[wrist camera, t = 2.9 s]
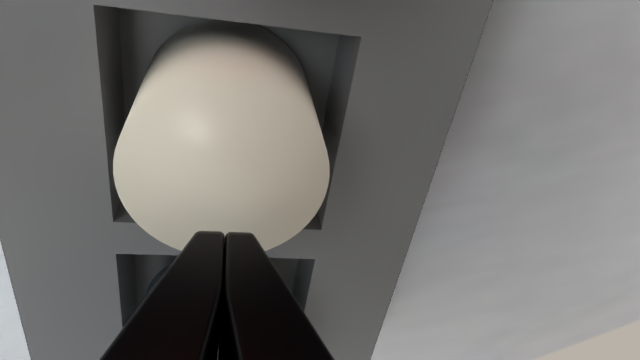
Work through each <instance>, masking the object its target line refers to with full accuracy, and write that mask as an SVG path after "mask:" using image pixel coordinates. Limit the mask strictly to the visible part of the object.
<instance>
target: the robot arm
mask: <svg viewBox="0 0 640 360" xmlns="http://www.w3.org/2000/svg"><path fill="white" fill-rule="evenodd" d="M99 360H335V359H334V358H333V356H332V355H331V353H330V351H329V350H328V348H327V347H326V345H325V344H324V342H323V341H322V339H321V338H320V336H319V334H318V333H317V331H316V330H315V328H314V327H313V325H312V324H311V322H310V320H309V319H308V317H307V316H306V314H305V313H304V311H303V310H302V308H301V307H300V305H299V303H298V302H297V300H296V299H295V297H294V296H293V294H292V293H291V291H290V289H289V288H288V286H287V285H286V283H285V282H284V280H283V279H282V277H281V276H280V274H279V272H278V271H277V269H276V268H275V266H274V265H273V263H272V262H271V260H270V259H269V257H268V255H267V254H266V252H265V251H264V249H263V248H262V246H261V245H260V243H259V241H258V240H257V238H256V237H255V236H254V234H252V233H250V232H228V233H226V235H224V233H223V232H221V231H197V232H196V233H195V234H194V235H193V236H192V238H191V239H190V240H189V242H188V243H187V244H186V246H185V247H184V248H183V250H182V251H181V252H180V253H179V255H178V256H177V257H176V259H175V260H174V261H173V263H172V264H171V265H170V267H169V268H168V269H167V271H166V272H165V273H164V275H163V276H162V277H161V278H160V280H159V281H158V282H157V284H156V285H155V286H154V288H153V289H152V290H151V292H150V293H149V294H148V296H147V297H146V298H145V300H144V301H143V302H142V303H141V305H140V306H139V307H138V309H137V310H136V311H135V313H134V314H133V315H132V317H131V318H130V319H129V321H128V322H127V323H126V324H125V326H124V327H123V328H122V330H121V331H120V332H119V334H118V335H117V336H116V338H115V339H114V340H113V342H112V343H111V344H110V346H109V347H108V348H107V349H106V351H105V352H104V353H103V355H102V356H101V357H100V359H99Z"/></svg>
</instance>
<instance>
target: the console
mask: <svg viewBox="0 0 640 360" xmlns="http://www.w3.org/2000/svg"><path fill="white" fill-rule="evenodd" d="M492 3H493V0H0V241H1V245H2V249H3V252H4V256H5V260H6V264H7V268H8V272H9V276H10V280H11V284H12V288H13V291H14V295H15V299H16V303H17V307H18V311H19V315H20V319H21V323H22V326H23V330H24V334H25V338H26V342H27V346H28V350H29V354H30V358H31V360H99V359H100V357H101V356H102V355H103V353H104V352H105V351H106V349H107V348H108V347H109V346H110V344H111V343H112V342H113V340H114V339H115V338H116V336H117V335H118V334H119V332H120V331H121V330H122V328H123V327H124V326H125V324H126V323H127V322H128V321H129V319H130V318H131V317H132V315H133V314H134V313H135V311H136V310H137V309H138V307H139V306H140V305H141V303H142V302H143V301H144V300H145V296H146V292H147V289H148V287H149V285H150V283H151V281H152V280H153V279H154V277H155V276H156V275H157V274H158V273H159V272H160V271H161V270H163V269H164V268H165V267H167V266H168V265H170V264H172V263H173V261H174V260H175V259H176V257H177V256H178V255H179V253H180V252H181V251H180V250H178V249H175V248H172V247H170V246H168V245H166V244H164V243H162V242H160V241H159V240H157V239H156V238H154V237H153V236H151V235H150V234H148V233H147V232H146V231H145V230H144V229H142V228H141V227H140V226H139V225H138V224H137V223H136V222H135V221H134V220H133V218H132V217H131V216H130V215H129V213H128V212H127V210H126V209H125V208H124V206H123V204H122V202H121V200H120V198H119V196H118V193H117V190H116V187H115V182H114V176H113V158H114V153H115V148H116V145H117V142H118V139H119V136H120V134H121V132H122V129H123V127H124V124H125V122H126V120H127V117H128V115H129V112H130V110H131V108H132V105H133V103H134V100H135V98H136V96H137V93H138V91H139V88H140V86H141V84H142V81H143V79H144V76H145V74H146V72H147V69H148V67H149V64H150V62H151V60H152V59H153V57H154V55H155V53H156V52H157V51H158V49H159V48H160V47H161V45H163V44H164V43H165V42H166V41H167V40H168V39H169V38H170V37H171V36H173V35H174V34H175V33H177V32H178V31H180V30H182V29H184V28H186V27H188V26H190V25H193V24H196V23H199V22H203V21H208V20H225V21H233V22H241V23H250V24H253V25H256V26H259V27H261V28H263V29H265V30H267V31H269V32H270V33H272V34H273V35H275V36H277V37H278V38H279V39H280V40H281V41H283V42H284V43H285V44H286V45H287V46H288V47H289V48H290V50H291V51H292V52H293V53H294V55H295V56H296V57H297V59H298V60H299V62H300V64H301V66H302V68H303V70H304V73H305V76H306V79H307V82H308V86H309V89H310V93H311V96H312V100H313V104H314V107H315V111H316V114H317V118H318V121H319V125H320V128H321V132H322V135H323V139H324V142H325V146H326V149H327V153H328V159H329V169H330V176H329V184H328V188H327V192H326V195H325V198H324V200H323V202H322V205H321V207H320V208H319V210H318V211H317V213H316V215H315V216H314V217H313V218H312V220H311V221H310V222H309V223H308V224H307V225H306V226H305V227H304V228H303V229H302V230H301V231H300V232H299V233H297V234H296V235H295V236H293V237H292V238H291V239H289V240H287V241H286V242H284V243H282V244H280V245H278V246H276V247H274V248H272V249H269V250H267V251H265V252H266V254H267V255H268V257H269V259H270V260H271V262H272V263H273V265H274V266H275V268H276V269H277V271H278V272H279V274H280V276H281V277H282V279H283V280H284V282H285V283H286V285H287V286H288V288H289V289H290V291H291V293H292V294H293V296H294V297H295V299H296V300H297V302H298V303H299V305H300V307H301V308H302V310H303V311H304V313H305V314H306V316H307V317H308V319H309V320H310V322H311V324H312V325H313V327H314V328H315V330H316V331H317V333H318V334H319V336H320V338H321V339H322V341H323V342H324V344H325V345H326V347H327V348H328V350H329V351H330V353H331V355H332V356H333V358H334V359H335V360H370V359H371V356H372V353H373V350H374V347H375V344H376V342H377V339H378V336H379V333H380V330H381V327H382V324H383V321H384V318H385V315H386V312H387V309H388V306H389V304H390V301H391V298H392V295H393V292H394V289H395V286H396V283H397V280H398V277H399V274H400V271H401V268H402V266H403V263H404V260H405V257H406V254H407V251H408V248H409V245H410V242H411V239H412V236H413V233H414V231H415V228H416V225H417V222H418V219H419V216H420V213H421V210H422V207H423V204H424V201H425V198H426V195H427V193H428V190H429V187H430V184H431V181H432V178H433V175H434V172H435V169H436V166H437V163H438V160H439V157H440V155H441V152H442V149H443V146H444V143H445V140H446V137H447V134H448V131H449V128H450V125H451V122H452V119H453V117H454V114H455V111H456V108H457V105H458V102H459V99H460V96H461V93H462V90H463V87H464V84H465V82H466V79H467V76H468V73H469V70H470V67H471V64H472V61H473V58H474V55H475V52H476V49H477V46H478V44H479V41H480V38H481V35H482V32H483V29H484V26H485V23H486V20H487V17H488V14H489V11H490V8H491V6H492Z"/></svg>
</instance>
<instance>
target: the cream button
mask: <svg viewBox="0 0 640 360" xmlns="http://www.w3.org/2000/svg"><path fill="white" fill-rule="evenodd" d="M113 176H114V182H115V187H116V190H117V193H118V196H119V198H120V200H121V202H122V204H123V206H124V208H125V209H126V210H127V212H128V213H129V215H130V216H131V217H132V218H133V220H134V221H135V222H136V223H137V224H138V225H139V226H140V227H141V228H142V229H144V230H145V231H146V232H147V233H148V234H150V235H151V236H153V237H154V238H156V239H157V240H159V241H160V242H162V243H164V244H166V245H168V246H170V247H172V248H175V249H178V250H180V251H182V250H183V248H184V247H185V246H186V244H187V243H188V242H189V240H190V239H191V238H192V236H193V235H194V234H195V233H196V232H197V231H221V232H223V233H224V235H226V233H228V232H250V233H252V234H254V236H255V237H256V238H257V240H258V241H259V243H260V245H261V246H262V248H263V249H264V251H267V250H269V249H272V248H274V247H276V246H278V245H280V244H282V243H284V242H286V241H287V240H289V239H291V238H292V237H293V236H295V235H296V234H297V233H299V232H300V231H301V230H302V229H303V228H304V227H305V226H306V225H307V224H308V223H309V222H310V221H311V220H312V218H313V217H314V216H315V215H316V213H317V211H318V210H319V208H320V207H321V205H322V202H323V200H324V198H325V195H326V192H327V188H328V184H329V176H330V169H329V159H328V153H327V149H326V146H325V142H324V139H323V135H322V132H321V128H320V125H319V121H318V118H317V114H316V111H315V107H314V104H313V100H312V96H311V93H310V89H309V86H308V82H307V79H306V76H305V73H304V70H303V68H302V66H301V64H300V62H299V60H298V59H297V57H296V56H295V55H294V53H293V52H292V51H291V50H290V48H289V47H288V46H287V45H286V44H285V43H284V42H283V41H281V40H280V39H279V38H278V37H277V36H275V35H273V34H272V33H270V32H269V31H267V30H265V29H263V28H261V27H259V26H256V25H253V24H250V23H241V22H233V21H225V20H208V21H203V22H199V23H196V24H193V25H190V26H188V27H186V28H184V29H182V30H180V31H178V32H177V33H175V34H174V35H173V36H171V37H170V38H169V39H168V40H167V41H166V42H165V43H164V44H163V45H161V47H160V48H159V49H158V51H157V52H156V53H155V55H154V57H153V59H152V60H151V62H150V64H149V67H148V69H147V72H146V74H145V76H144V79H143V81H142V84H141V86H140V88H139V91H138V93H137V96H136V98H135V100H134V103H133V105H132V108H131V110H130V112H129V115H128V117H127V120H126V122H125V124H124V127H123V129H122V132H121V134H120V136H119V139H118V142H117V145H116V148H115V153H114V158H113Z"/></svg>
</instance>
